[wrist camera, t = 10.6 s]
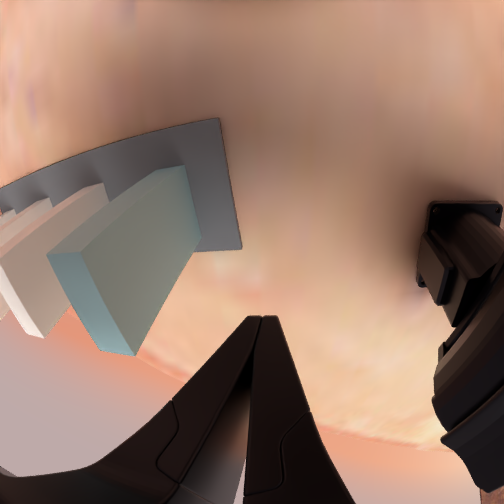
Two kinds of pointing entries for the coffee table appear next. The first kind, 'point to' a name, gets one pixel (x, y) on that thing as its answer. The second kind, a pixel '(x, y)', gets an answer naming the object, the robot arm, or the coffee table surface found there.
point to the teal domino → (129, 259)
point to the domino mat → (138, 167)
